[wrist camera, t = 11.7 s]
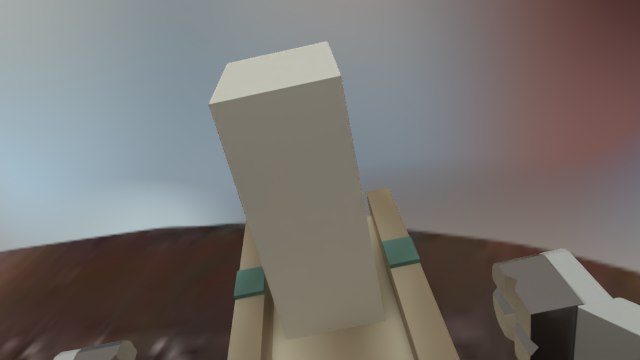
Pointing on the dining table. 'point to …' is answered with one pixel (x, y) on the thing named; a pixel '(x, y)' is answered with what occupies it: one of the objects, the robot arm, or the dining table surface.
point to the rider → (300, 187)
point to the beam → (356, 342)
